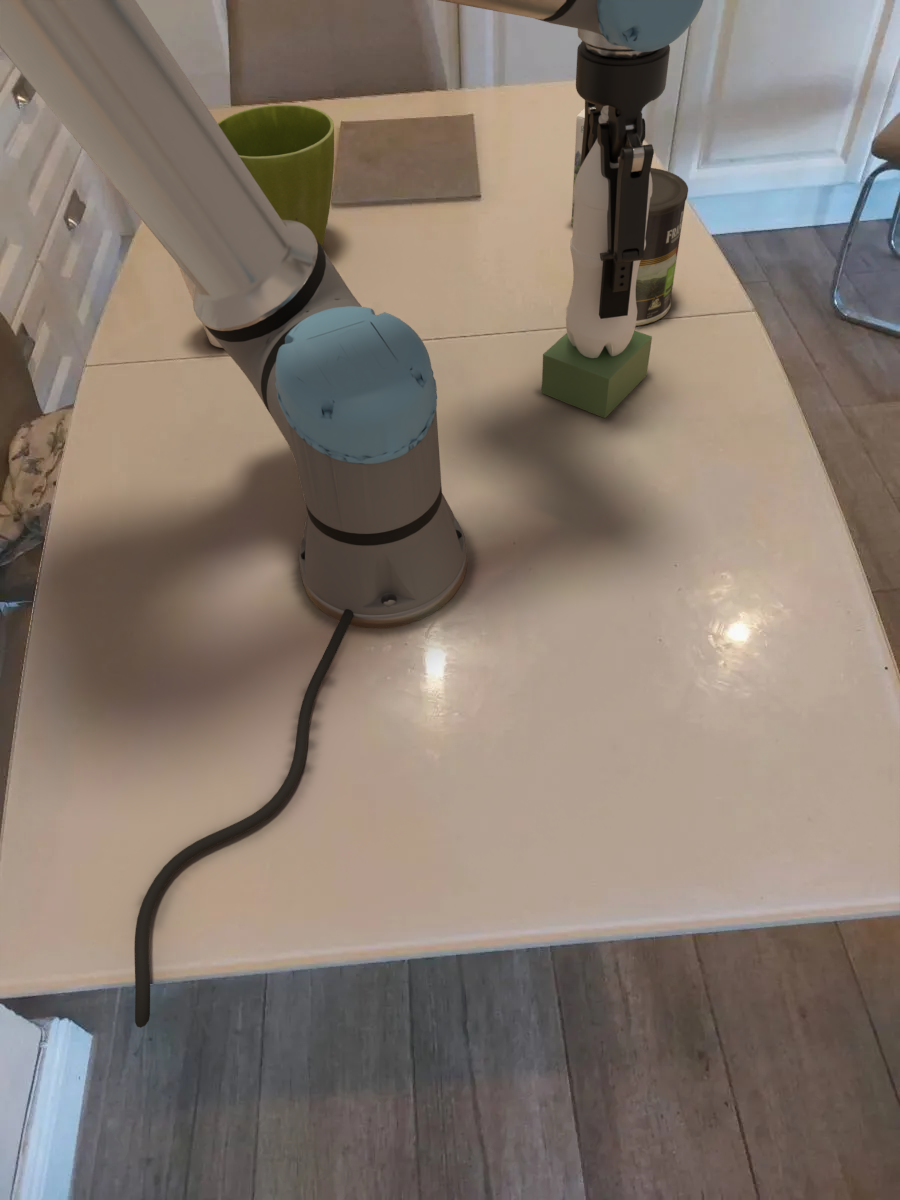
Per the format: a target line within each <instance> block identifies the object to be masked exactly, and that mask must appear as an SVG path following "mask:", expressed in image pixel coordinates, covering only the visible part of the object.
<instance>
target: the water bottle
mask: <svg viewBox="0 0 900 1200" xmlns="http://www.w3.org/2000/svg"><path fill="white" fill-rule="evenodd" d="M608 111H609V110H608V106H603V108H602V110H601V115H600V116H599V123H607V122H606V121H608V119H609V117H608ZM610 167H611V168H618V167H619V163H617V164H613V163H611V162H610ZM574 196H575V198H574V216H573V226H572V234H571V237H570V246H569V248H570V254H571V259H572V271H573V274H572V276H573V278H572V286H571V292H570V296H569V299H568V303H567V306H566V315H565V328H566V333H567V335H568V338H569V340H570V342H571V343H572V345H573V346H576V347H577V349H578V351H579V352H580V353H581V354H582V355H583V356H585V357H588V358H598V356H599V355H600V353H601V352H602V350H603V348H604V346H605V347H606V349H607V351H608V353H609V354H610V355H611V356H617V355H618V354H620V353H621V352H623V350H624V349H625V348H626V347H627V345H628V344H629V342H630V340H631V338H632V336H633V333H634V330H635V329H636V327H637V326H636V319H637V305H636V279H637V273H638V268H639V264H640V261H641V260H638V261H633V271H632V280H631V289H630V298H629V308H628V315H627V316H620V317H612V318H604V319H600V316H599V305H600V293H601V280H602V268H603V261H601V259H600V253H604V252H607V251H608V235H607V211H608V198H609V193H608V180H607V178H605V177H603V176H602V174H601V153H600V145H599V144H598V141H597V140H596V141H595V143H594V145H593V147H592V148H591V150H590V152H589V153H588V155H587V157H586V158H585V160H584V162H583V164H582V166H581V167H580V169H579V172H578V174H577V177H576V180H575V184H574ZM651 196H652V177H651V173H650V174H649V188H648V201H647V215H646V228H647V220H648V212H649V204H650V198H651ZM645 236H646V229H645ZM645 247H646V240H645V242H644V249H645ZM635 331H636V330H635Z"/></svg>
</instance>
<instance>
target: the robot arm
mask: <svg viewBox="0 0 900 1200" xmlns="http://www.w3.org/2000/svg"><path fill="white" fill-rule="evenodd" d="M438 1H441V2H445V3H449V4H455V5H460V6H466V7H471V8H478V9H482V10H489V11H493V12H499V13H504V14H509V15H515V16H520V17H526V18H530V19H535V20H538V21H542V22H545V23H549V24H551V25H559V26H563V27H567V28H574V29H577V37H578V38H579V39H580V41H581V42H580V43H579V45H578V46H577V49H576V52H577V53H576V69H575V71H576V72H575V89H576V92H577V94H578V96H579V97H580V98H581V99H583V100H584V108H585V120H584V131H583V142H582V153H581V164H580V167H581V166H582V164H583V162H584V160H585V158H586V157H587V155H588V153H589V152H590V150H591V148H592V147H593V145H594V143H595V141H596V140H597V141H598V144H599V145H600V153H601V174H602V176H603V177H605V178H607V180H608V193H609V198H608V211H607V235H608V251H607V252H604V253H600V259H601V261H603V268H602V280H601V293H600V305H599V316H600V319H604V318H612V317H620V316H627V315H628V308H629V298H630V289H631V280H632V271H633V261H638V260H643V256H644V242H645V229H646V215H647V201H648V188H649V174H650V169H651V168H652V164H653V159H654V154H655V150H654V147H653V144H651V143H649V144H643V143H644V141H645V140H646V120H645V118H643V113H642V112H643V109H644V108H645V106H647V105H648V104H649V103H651V102H653V101H655V100H657V99H658V98H659V97H660V96H662V94H664V91H665V89H666V86H667V77H668V70H669V62H670V61H669V60H670V59H669V58H670V52H671V46H670V44H672V43H674V42H675V41H676V40H677V39H679V38H680V37H681V36H682V35H683V34H685V32H686V31H687V30H688V28H689V27H690V26H691V25H692V23H693V22H694V21H695V19H696V17H697V16H698V14H699V12H700V10H701V8H702V6H703V2H704V0H438ZM0 49H1V50H2V52H3V53H4V55H6V57H7V58H8V59H9V60H10V62H11V63H12V64H13V65H14V67H15V68H16V69H17V70H18V71H19V73H20V74H21V75H22V76H23V77H24V78H25V80H26V81H27V82H28V83H29V85H30V86H31V87H32V88H33V90H34V91H35V92H36V93H37V94H38V95H39V97H40V98H41V99H42V100H43V102H44V104H46V105H47V106H48V108H49V109H50V111H52V113H53V114H54V115H55V116H56V118H57V119H58V120H59V121H60V122H61V124H62V125H63V126H64V127H65V129H67V131H68V133H70V135H71V136H72V137H73V138H74V139H75V141H76V143H77V144H79V145H80V147H81V148H82V149H83V151H84V152H85V153H86V154H87V156H88V157H89V158H91V160H92V161H93V163H95V165H96V166H97V167H98V169H99V170H100V171H101V172H102V173H103V175H104V176H105V177H106V179H107V180H108V181H109V182H110V184H111V185H112V186H113V187H114V189H115V190H116V191H117V192H118V193H119V194H120V196H121V197H122V198H123V199H124V201H126V203H127V204H128V205H129V206H130V208H131V209H132V210H133V211H134V212H135V214H136V215H137V216H138V217H139V219H140V220H141V222H143V224H144V225H145V226H146V227H147V229H148V230H149V231H150V232H151V234H152V235H153V236H154V237H155V238H156V240H158V242H159V243H160V245H162V247H163V248H164V249H165V250H166V251H167V253H168V254H169V255H170V257H171V258H172V259H173V260H174V261H175V263H176V265H177V266H178V265H179V266H180V267H181V268H182V270H183V271H184V272H185V273H186V275H187V276H188V277H189V278H190V279H191V281H192V282H193V283H194V284H195V289H194V295H193V300H192V307H193V312H194V314H195V316H196V317H197V319H198V320H199V321H200V322H201V324H202V323H203V324H202V326H203V325H204V326H205V327H206V328H207V329H208V331H209V332H210V333H211V334H212V335H213V336H214V338H215V339H216V340H217V341H218V342H219V344H220V345H221V346H222V347H223V348H222V349H224V351H225V352H226V353H227V354H228V356H229V357H230V358H231V360H233V361H234V362H235V364H236V365H237V366H238V367H239V369H240V370H241V371H242V373H243V374H244V376H245V377H246V378H247V379H248V381H249V382H250V384H251V385H252V387H253V389H254V390H255V392H256V393H257V395H258V396H259V399H261V401H262V403H263V405H264V407H265V408H266V409H267V411H268V413H269V414H270V416H271V418H272V419H273V422H274V423H275V425H276V426H277V428H278V429H279V431H280V433H281V435H282V436H283V438H284V440H285V441H286V443H287V445H288V447H289V449H290V451H291V454H292V457H293V459H294V462H295V466H296V471H297V473H298V478H299V483H300V488H301V491H302V492H301V493H302V495H303V500H304V504H305V508H306V518H305V523H304V526H303V527H304V528H303V533H302V534H303V535H302V540H301V543H300V548H299V553H298V554H299V555H298V566H299V567H298V568H299V571H300V572H299V573H300V575H301V579H302V583H303V587H304V590H305V592H306V593H307V596H308V597H309V600H311V601H312V603H313V604H314V605H315V606H316V607H317V608H318V609H319V611H322V613H323V614H326V615H327V616H329V617H330V618H332V619H334V620H336V621H338V623H337V625H336V626H335V629H334V630H333V633H332V636H331V638H330V639H329V642H328V644H327V646H326V648H325V650H324V652H323V654H322V656H321V658H320V661H319V662H318V664H317V666H316V668H315V671H314V672H313V675H312V676H311V679H310V681H309V683H308V685H307V688H306V690H305V693H304V696H303V699H302V702H301V705H300V710H299V714H298V720H297V727H296V737H295V746H294V753H293V756H292V761H291V765H290V768H289V770H288V773H287V775H286V777H285V779H284V781H283V783H282V784H281V786H280V787H279V789H278V790H277V792H276V793H275V794H274V795H273V796H272V798H271V799H270V800H269V801H268V802H266V803H265V805H263V806H262V807H260V809H257V811H256V810H255V812H254V813H252V814H251V815H248V816H246V817H245V818H243V819H241V820H240V821H237V822H235V823H233V824H231V825H229V826H226V827H223V828H222V829H220V830H218V831H215V832H213V833H211V834H208V835H207V836H204V837H203V838H201V839H199V840H196V841H195V842H193V843H191V844H190V845H188V846H187V847H185V848H183V849H182V850H181V851H179V852H178V853H177V854H175V855H174V856H173V857H172V858H171V859H170V860H169V861H168V862H167V863H166V864H165V865H164V866H163V867H162V869H160V871H159V872H158V874H157V875H156V876H155V878H154V879H153V881H152V882H151V884H150V886H149V887H148V889H147V891H146V893H145V895H144V898H143V900H142V902H141V905H140V908H139V911H138V915H137V918H136V925H135V931H134V947H133V949H134V951H133V952H134V987H135V988H134V989H135V990H134V992H135V993H134V996H135V997H134V1023H135V1026H136V1027H137V1028H143V1027H145V1026H146V1025H147V1024H148V1023H149V1021H150V1016H151V968H150V967H151V965H150V932H151V925H152V919H153V914H154V911H155V909H156V905H157V903H158V900H159V899H160V896H161V894H162V892H163V891H164V888H165V887H166V886H167V884H168V883H169V881H170V880H171V879H172V877H173V876H174V875H175V874H176V873H177V872H178V871H179V870H180V869H181V868H182V867H183V866H184V865H185V864H187V863H188V862H189V861H191V860H192V859H193V858H195V857H197V856H199V855H200V854H202V853H204V852H206V851H207V850H210V849H212V848H214V847H216V846H218V845H221V844H222V843H225V842H227V841H230V840H232V839H235V838H236V837H238V836H240V835H242V834H245V833H246V832H248V831H250V830H252V829H254V828H256V827H257V826H259V825H260V824H262V823H263V822H265V821H266V820H268V819H269V818H270V817H271V816H272V815H274V814H275V812H277V811H279V810H280V808H281V807H282V806H283V805H284V803H286V801H287V800H288V799H289V797H290V795H291V794H292V792H293V791H294V790H295V788H296V785H297V784H298V782H299V781H300V778H301V775H302V772H303V770H304V767H305V766H304V765H305V763H306V757H307V752H308V743H309V732H310V725H311V724H310V723H311V717H312V713H313V708H314V705H315V701H316V698H317V696H318V693H319V691H320V688H321V685H322V683H323V681H324V679H325V677H326V675H327V673H328V671H329V669H330V667H331V665H332V663H333V661H334V659H335V657H336V655H337V652H338V650H339V648H340V646H341V645H342V642H343V640H344V637H345V635H346V634H347V631H348V629H349V627H350V626H353V627H359V628H366V629H387V628H396V627H401V626H406V625H408V624H412V623H414V622H418V621H419V620H421V619H425V618H427V617H429V616H430V615H432V614H435V613H436V612H437V611H438V610H440V609H441V608H443V607H444V606H445V605H446V604H448V603H449V601H450V600H452V598H453V597H454V596H455V595H456V593H457V592H458V590H459V589H460V587H461V586H462V584H463V582H464V579H465V576H466V573H467V567H468V553H467V541H466V537H465V534H464V531H463V528H462V527H461V525H460V523H459V521H458V519H457V517H456V516H455V514H454V512H453V510H452V508H451V506H450V505H449V503H448V500H447V499H446V497H445V495H444V494H443V489H442V487H443V486H442V474H441V460H440V459H441V458H440V444H439V443H440V442H439V428H438V413H437V412H438V411H437V407H438V406H437V405H438V393H437V391H438V389H437V381H436V380H437V379H435V376H434V370H433V367H432V362H431V359H430V357H431V356H430V354H429V352H428V349H427V347H426V345H425V343H424V341H423V340H422V338H421V337H420V335H419V334H418V333H417V332H416V331H415V330H414V328H412V327H411V326H410V325H409V324H408V323H407V322H405V321H403V320H402V319H400V318H399V317H397V316H395V315H393V314H391V313H388V312H386V311H383V312H382V313H379V314H376V313H375V310H374V308H370V307H365V306H362V305H361V303H360V302H359V301H358V300H357V298H356V296H354V294H353V292H352V291H351V289H349V287H348V285H347V284H346V282H345V281H344V279H343V278H342V276H341V275H340V273H339V271H338V270H337V268H336V267H335V265H334V264H333V262H332V260H331V259H330V257H329V255H328V254H327V252H326V251H325V250H324V248H323V246H321V245H320V243H319V242H318V240H317V239H316V237H315V236H314V234H313V233H312V231H311V230H310V229H309V228H308V227H307V226H305V225H304V224H302V223H300V222H297V221H293V220H281V218H280V217H279V215H278V214H277V212H276V211H275V209H274V208H273V206H272V205H271V203H270V202H269V200H268V199H267V197H266V196H265V194H264V193H263V191H262V190H261V188H260V187H259V185H258V184H257V182H256V181H255V179H254V178H253V176H252V175H251V173H250V172H249V170H248V169H247V167H246V166H245V164H244V163H243V161H242V160H241V158H240V157H239V155H238V154H237V152H236V151H235V149H234V148H233V146H232V145H231V143H230V142H229V140H228V139H227V137H226V136H225V134H224V133H223V131H222V129H221V128H220V126H219V125H218V123H219V122H217V121H216V119H215V118H214V116H213V114H212V113H211V112H210V110H209V109H208V106H207V105H206V104H205V102H204V101H203V100H202V98H201V96H200V95H199V94H198V92H197V91H196V89H195V88H194V86H193V84H192V83H191V81H190V80H189V78H188V77H187V75H186V73H184V71H183V69H182V68H181V67H180V65H179V63H178V62H177V60H176V59H175V57H174V56H173V54H172V53H171V51H170V50H169V48H168V47H167V45H166V44H165V42H164V41H163V39H162V38H161V37H160V34H159V33H158V32H157V30H156V29H155V27H154V25H153V24H152V22H151V21H150V20H149V18H148V17H147V15H146V14H145V12H144V10H143V8H141V6H140V5H139V3H138V2H137V0H0ZM603 106H608V110H609V111H608V117H609V119H608V121H606V122H607V123H599V116H600V115H601V110H602V108H603ZM610 162H611V163H613V164H617V163H619V167H618V168H611V167H610Z"/></svg>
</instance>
